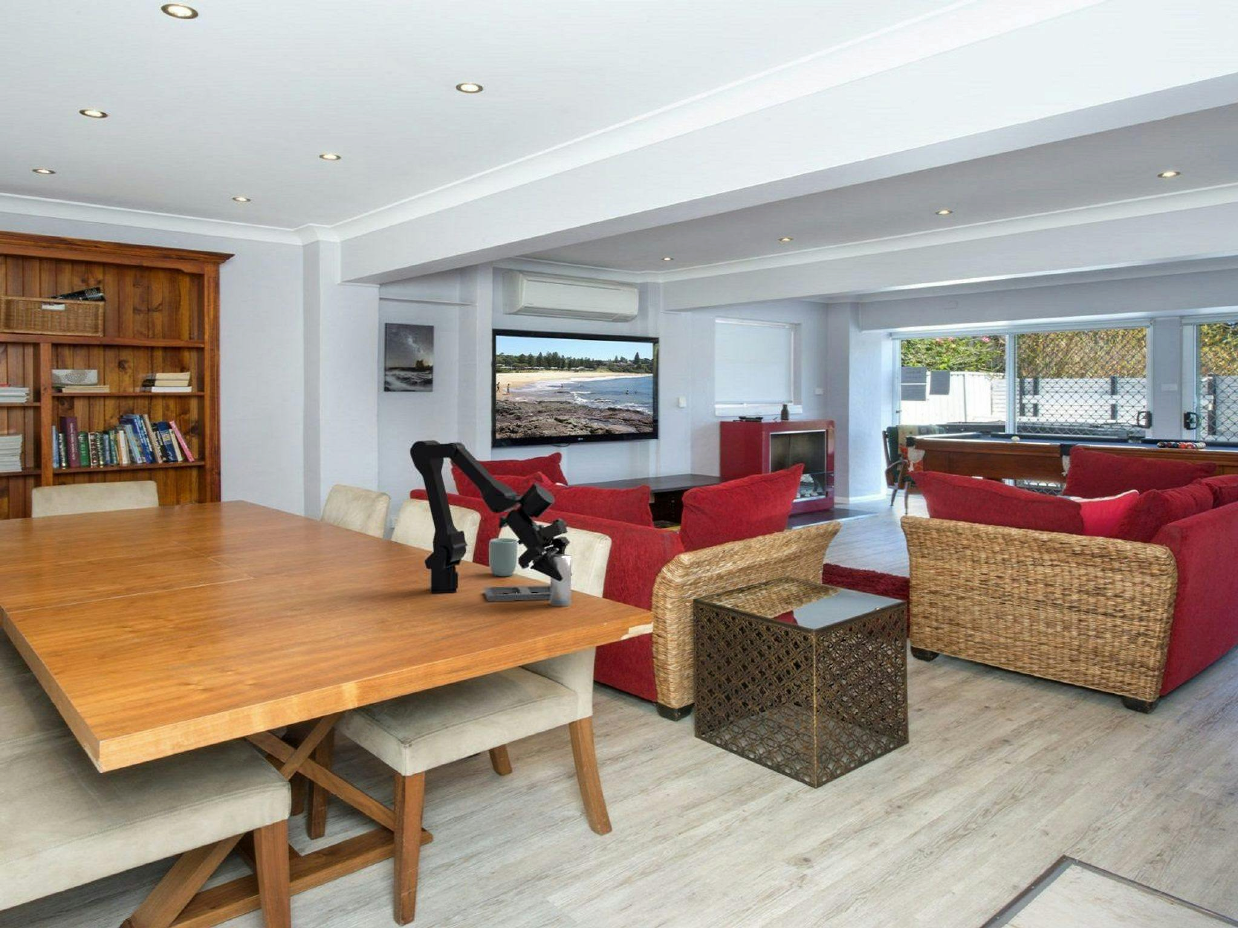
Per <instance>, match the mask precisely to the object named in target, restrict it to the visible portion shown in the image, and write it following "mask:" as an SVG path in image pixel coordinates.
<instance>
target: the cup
mask: <svg viewBox="0 0 1238 928" xmlns="http://www.w3.org/2000/svg"><path fill="white" fill-rule="evenodd" d="M517 541H518V540H517V539H516V538H510V537H509V538H508V537H507V538H505V537H501V538H499V537H498V538H492V539H490V540H489V545H488V547H489V548H488V556H489V557H488V558H489V559H488V561H489V568H490V571H491V573H492V574H493V575H495V576H496V575H497V577H509V576H511V575H513V574H514V573H515V571H516V567H517V564H518V542H517Z"/></svg>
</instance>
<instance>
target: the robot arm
mask: <svg viewBox="0 0 1238 928" xmlns="http://www.w3.org/2000/svg"><path fill="white" fill-rule="evenodd" d="M409 454H410V458H411V460H412V463H413V466H414V467H415V469H416V470H417V471H418V472H419V474H420V475H421V476H422V479H423V484H424V487H425V492H426V493H425V494H426V496H427V500H428V505H429V509H430V513H431V518H432V522H433V526H434V533H433V534H434V535H433V538H432V548H433V550H432V551H433V552H431V553H430V555H428V556H427V558H426V559H424V564H425V567H426V569H427V570H430V577H429V578H430V585H429V590H430V593H432V594H436V593H437V594H439V593H457V589H459V572H458V571H457V567H456V566H459V565H460V564H461V561H462V559H463V558H464V556H465V555H466V553H467V547H468V543H467V541H466V539H465V537H466V536H465V532H464V530H458V529H457V528H456V527H455V524H454V521H453V516H452V512H451V507H450V504H449V503H450V502H449V500H448V494H447V491H446V486H445V482H444V479H443V474H442V470H443V465H444V461H445V460H444V459H450V460H451V462H452V463H454V465H455V466H456V467H458V469H459V470H460V471H461V473H463V474H464V475H465V476H466V478H468V480H469V481H470V482H472V484H473V485H474V486H476V488H477V489H478V490H479V492H480V495H481V497H482V500H483V501H484V503H485V505H486V506H487V508H488V509H489V511H490V512H492V513H494V514H500V513H501V514H502V513H506V512H508V513H507V514H506V515H504V516H503V515H502V516H500V517H498V518H499V523H498V528H499V529H502V528H506V527H508V528H509V529H510V530H511V531H512V532H513V533H514V535H515V536H516V537H517V539H518V540H517V544H518V545H523V546H524V547H525V549H526V550H525V551H524V552H523V553H521V555H520V556H519V557H517V564H518V565H519V567H521V569H522V570H525V569H527V568H529V567H530V570H534V571H536V572H539V573H541V574H544V575H545V576H548V577H549V578H550V579H551V578H553V579H555V580H557V581H561V580H562V579H563V578H562V576H561V574H560V572H559V571H558V569H557V568H556V566H555V565H554V563H553V562H552V560H551V555H554V554H565V553H566V549H567V547H568V545H570V543H571V542H570V540H569V539H568V538H567V536H560V535H564V534H567V533H569V532H568V529H567V527H568V523H567V522H566V521H565V520H563V519H562V518H561V517H559V518H556V519H554V520H552V523H551V524H548V525H547V526H544V525H543V524H537V523H536V521H535V520H534V519H533V518H537V519H539V518H541V516H542V515H543V514H545V512H546V511H547V510H548V509H549V508H551V506H552V505H553V504H555V501H556V500H555V497H554V495H553V494H552V493H551V491H548V489H546V488H544V487H542V486H541V485H539V483H533V484H532V485H531V486H530V487H529V488H528V490H526V492H525V493H524V494H523V495H522V494H520V493H517V492H516V491H515V490H514V489H513V488H511V487H510V486H508V485H507V484H506V483H504V482H502V481H500V480H498V479H496V478H495V477H493V475H492V474H491V473H490V472H489V471H487V469H486V468H485V467H484V466H483V465H482V464H481V463H480V462H479V461H478V460H477V459H476V458H475V457H474V456H473V454H472V453H470V451H469V450H468V449H467V448H466V446H465V444H464V443H462V442H459V441H458V442H448V443H440V442H439V441H437V440H434V439H429V440H428V439H427V440H419V441H418V440H417V441H416V442H414V443H413V444H412V445H411V447H410V448H409ZM517 506H519V507H518V508H517ZM515 508H516V509H515ZM530 563H532V565H531V566H530ZM572 576H573V574H572V572H571V577H572Z"/></svg>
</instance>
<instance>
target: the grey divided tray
mask: <svg viewBox="0 0 1238 928" xmlns="http://www.w3.org/2000/svg"><path fill="white" fill-rule="evenodd" d="M516 592H517V593H516ZM531 592H538V593H531ZM503 593H508V594H503ZM483 594H485V595H484V597H485V598H486V600H487V602H488V601H489V602H490V601H495V602H515V601H514V600H523V601H545V600H547V599H548V600H549V599H550V584H549V585H548V584H547V585H546V584H545V585H542V584H541V585H518V586H517V585H516V586H512V585H511V586H484V587H483ZM548 600H547V601H548ZM549 601H550V600H549ZM489 602H488V603H489Z"/></svg>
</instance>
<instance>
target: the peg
mask: <svg viewBox="0 0 1238 928" xmlns="http://www.w3.org/2000/svg"><path fill="white" fill-rule="evenodd" d="M551 560H552V562H553V563H554V565H555V566H556V568H557V569H558V571H559V572H560V574H561V576H562V578H563V579H562V580H561V581H557V580H555V579H553V578H551V577H550V584H549V585H550V600H549V604H551V605H550V606H552V607H559V606H562V607H569V606H570V605H571V595H572V594H571V593H572V592H571V591H572V588H571V587H572V576H571V573H572V554H567V553H566V554H565V553H564V554H554V555H551Z"/></svg>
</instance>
